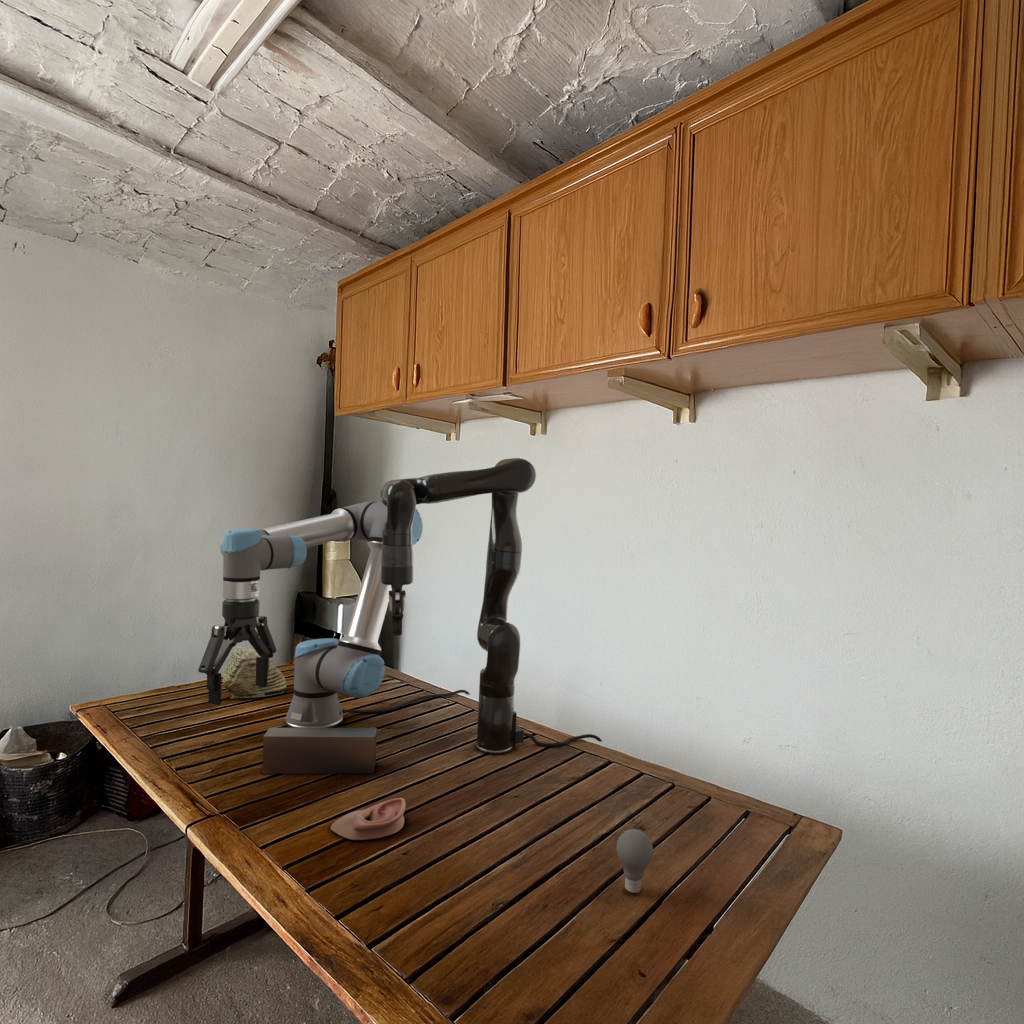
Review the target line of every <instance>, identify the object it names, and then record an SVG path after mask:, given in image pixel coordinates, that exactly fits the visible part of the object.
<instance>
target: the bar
mask: <svg viewBox="0 0 1024 1024" xmlns="http://www.w3.org/2000/svg"><path fill="white" fill-rule="evenodd" d="M377 738H378V728H377V727H335V728H288V727H269V728H268V729H267V731H266V732H265V733H264V734H263V737H262V739H263V740H262V743H263V744H262V764H261V765H262V766H261V774H262V775H283V774H284V775H287V774H288V775H290V774H291V775H299V774H301V775H303V774H305V775H308V774H309V775H310V774H311V775H312V774H314V775H315V774H317V775H318V774H321V775H322V774H325V775H326V774H330V775H331V774H374V772H375V768H376V762H377V743H378V742H377V740H378V739H377Z"/></svg>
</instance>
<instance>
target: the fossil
mask: <svg viewBox="0 0 1024 1024" xmlns="http://www.w3.org/2000/svg"><path fill="white" fill-rule="evenodd" d="M257 657H261V656H259V654H258V653H257V652H256V650H255V649H254V648H251V647H247V646H246V647H245V646H238V647H237V648H236V649H235V650H233V651H232V653H231V656H230V657H229V659H228V660H227V663H226V666H225V668H224V671H223V675H222V676H223V677H222V685H223V687H224V688H225V690H226V691H228V693H229V698H230V699H250V698H264V697H271V696H275V695H281V694H284V693H285V691H286V689H287V687H288V686H287V680H286V678H285V676H284V674H283V673H282V672H281V669H279V668H278V667H277V665H276V663H275V662H274V660H273V659H272V658H269V670H268V675H267V687H261V686H256V658H257Z"/></svg>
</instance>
